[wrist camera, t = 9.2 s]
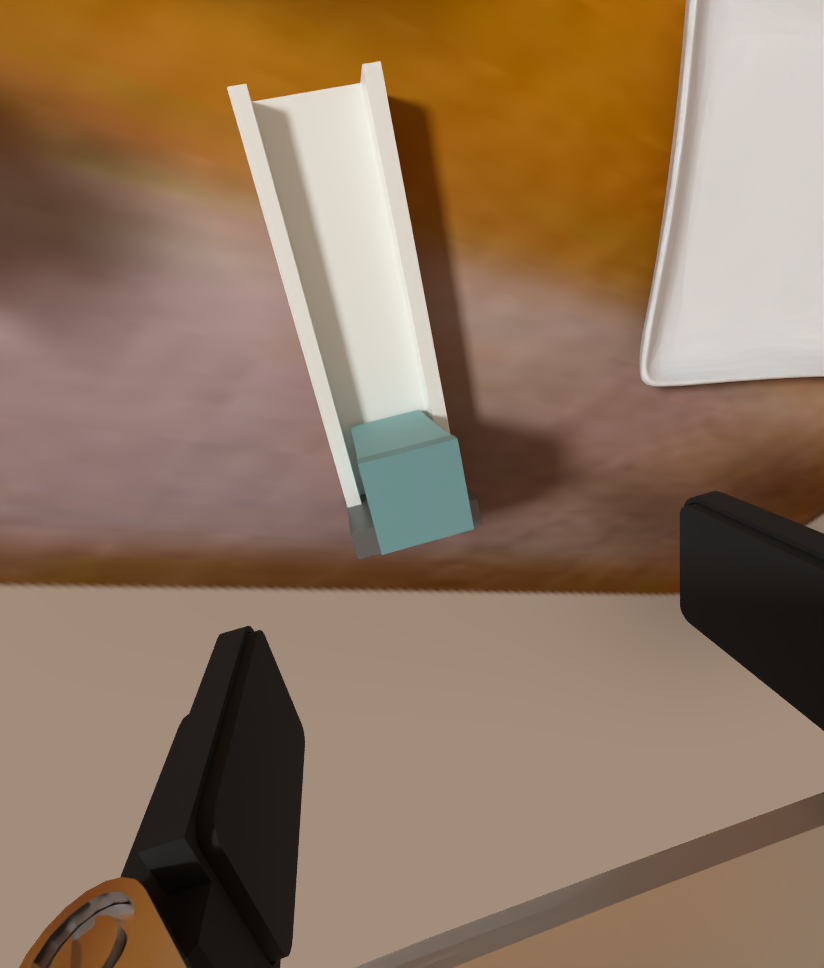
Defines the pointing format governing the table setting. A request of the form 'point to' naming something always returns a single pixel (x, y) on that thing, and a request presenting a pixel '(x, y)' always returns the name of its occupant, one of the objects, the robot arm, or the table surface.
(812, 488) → the table surface
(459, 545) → the table surface
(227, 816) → the robot arm
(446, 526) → the block
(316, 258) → the channel
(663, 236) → the salad plate
